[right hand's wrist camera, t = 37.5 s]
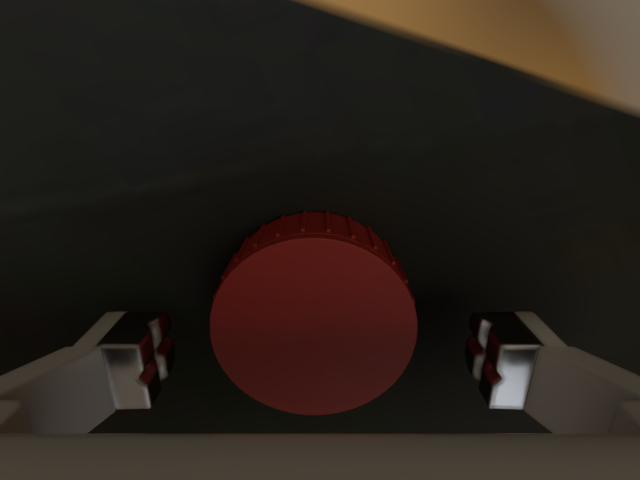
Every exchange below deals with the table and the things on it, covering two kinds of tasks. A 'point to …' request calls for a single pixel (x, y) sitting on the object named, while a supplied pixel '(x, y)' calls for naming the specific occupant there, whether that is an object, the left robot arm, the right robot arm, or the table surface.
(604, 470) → the right robot arm
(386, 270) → the lid
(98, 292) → the table surface
